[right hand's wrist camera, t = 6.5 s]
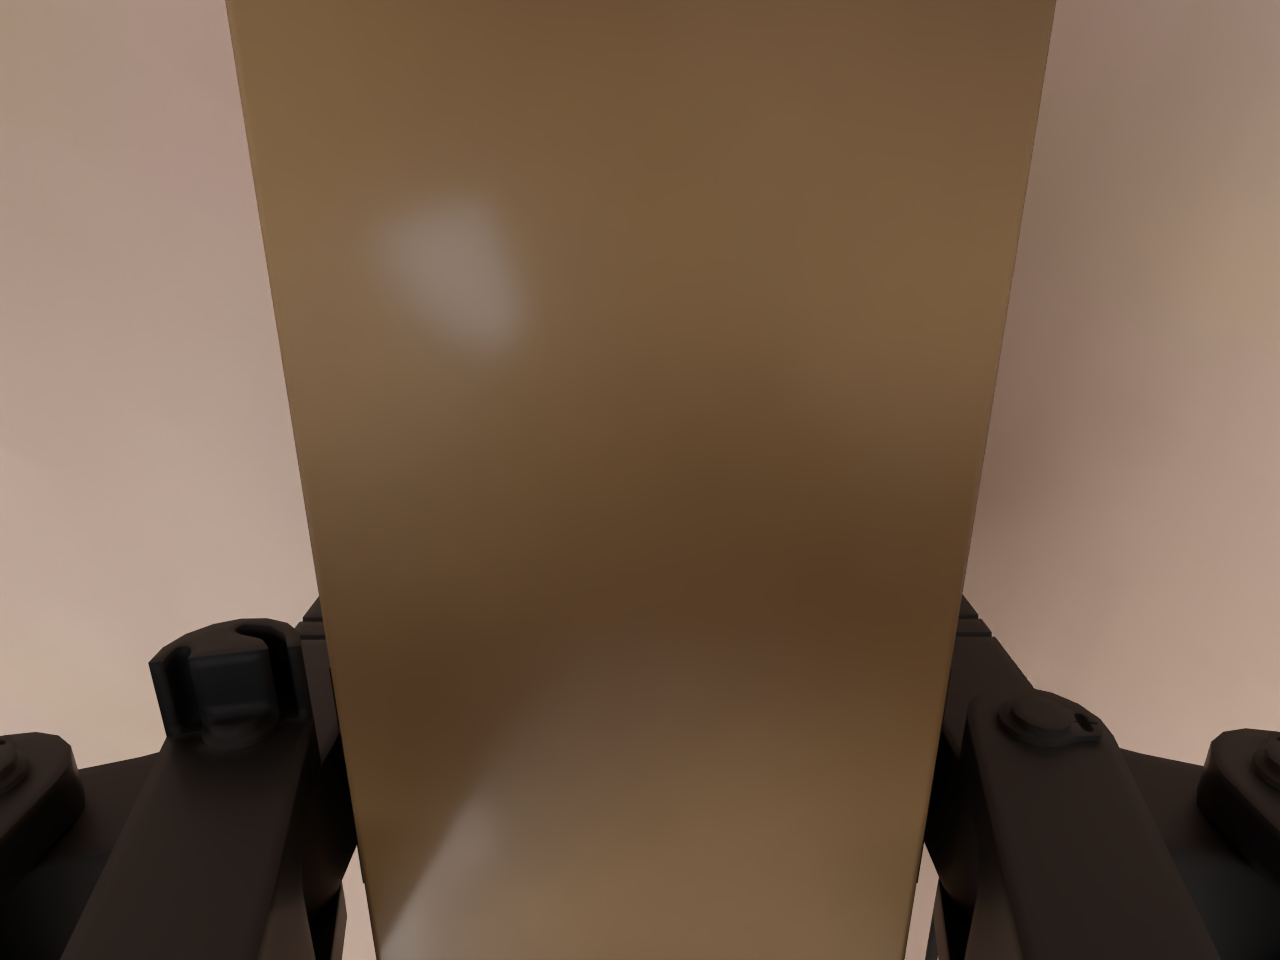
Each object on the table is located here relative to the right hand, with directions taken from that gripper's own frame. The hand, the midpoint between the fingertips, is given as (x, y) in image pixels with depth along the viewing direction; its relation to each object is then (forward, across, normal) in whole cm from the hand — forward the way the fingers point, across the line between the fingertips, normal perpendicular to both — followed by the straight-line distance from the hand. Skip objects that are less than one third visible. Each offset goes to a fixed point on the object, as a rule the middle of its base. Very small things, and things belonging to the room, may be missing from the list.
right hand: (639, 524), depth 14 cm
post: (+1, 0, -19) cm, 19 cm away
